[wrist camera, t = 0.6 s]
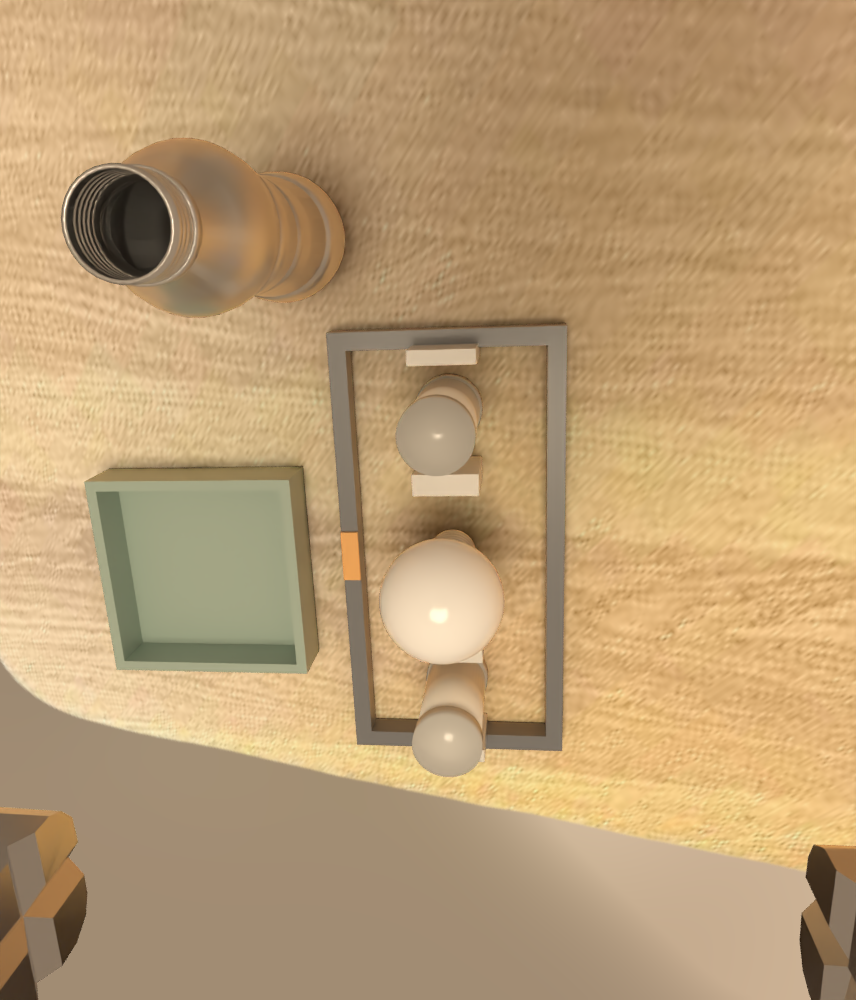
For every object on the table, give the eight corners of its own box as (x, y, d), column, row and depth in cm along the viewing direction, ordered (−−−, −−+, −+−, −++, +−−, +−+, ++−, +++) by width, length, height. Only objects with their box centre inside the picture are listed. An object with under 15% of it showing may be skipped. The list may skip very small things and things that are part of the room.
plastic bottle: (225, 183, 42) (-11, 123, 24) (347, 169, 42) (203, 95, 23) (244, 305, 44) (39, 341, 25) (361, 294, 43) (239, 322, 24)
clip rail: (332, 330, 44) (314, 337, 40) (565, 323, 43) (570, 329, 39) (361, 731, 52) (349, 768, 48) (560, 736, 50) (564, 776, 46)
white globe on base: (415, 374, 44) (393, 398, 37) (482, 373, 44) (474, 397, 36) (417, 440, 46) (397, 476, 38) (483, 439, 45) (475, 475, 38)
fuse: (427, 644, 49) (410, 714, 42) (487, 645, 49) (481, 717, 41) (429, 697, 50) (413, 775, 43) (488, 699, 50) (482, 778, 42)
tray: (110, 468, 48) (84, 481, 45) (302, 466, 47) (288, 480, 44) (138, 646, 52) (116, 669, 49) (319, 650, 50) (307, 673, 47)
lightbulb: (528, 554, 47) (531, 639, 36) (448, 614, 49) (428, 711, 38) (459, 475, 46) (442, 539, 35) (380, 539, 48) (341, 618, 37)
